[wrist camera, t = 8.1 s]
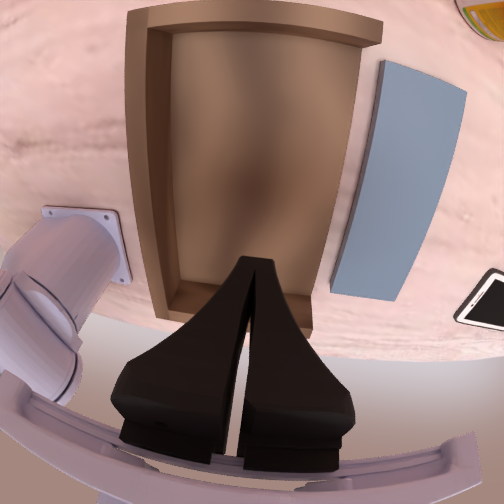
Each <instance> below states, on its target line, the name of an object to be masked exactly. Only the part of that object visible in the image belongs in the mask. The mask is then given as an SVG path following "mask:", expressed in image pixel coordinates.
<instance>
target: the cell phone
mask: <svg viewBox="0 0 504 504" xmlns="http://www.w3.org/2000/svg"><path fill="white" fill-rule="evenodd" d="M453 317H454V320H455V321H456V322H458V323H462V324H467V323H468V324H467V325H472V324H473V325H472V326H477V327H483V328H488V329H493V330H499V331H504V272H502V271H500V270H497V269H494V268H491V269H489V270H488V271H487V272H486V273H485V275H484V276H483V277H482V279H481V280H480V281H479V283H478V284H477V285H476V287H475V288H474V289H473V291H472V292H471V293H470V295H469V296H468V297H467V298H466V300H465V301H464V302H463V303H462V305H461V306H460V307H459V308H458V310H457V311H456V312H455V314H454V316H453Z"/></svg>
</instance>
